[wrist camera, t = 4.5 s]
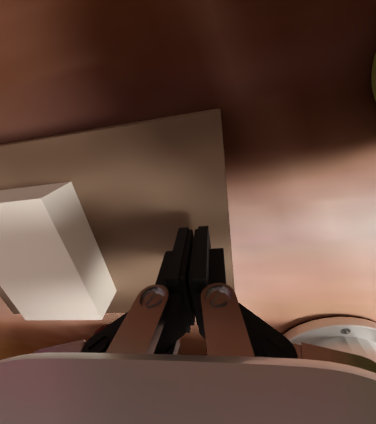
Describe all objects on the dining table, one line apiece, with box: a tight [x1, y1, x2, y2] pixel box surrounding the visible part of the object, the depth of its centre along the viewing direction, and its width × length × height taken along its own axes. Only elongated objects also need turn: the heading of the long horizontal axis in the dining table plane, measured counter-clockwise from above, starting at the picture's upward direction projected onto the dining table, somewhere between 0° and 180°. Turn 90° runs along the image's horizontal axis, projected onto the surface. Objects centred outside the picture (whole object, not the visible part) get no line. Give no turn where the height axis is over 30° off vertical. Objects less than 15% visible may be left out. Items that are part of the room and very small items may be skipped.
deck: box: [0, 108, 235, 314], centre depth 16 cm, size 14×20×4 cm
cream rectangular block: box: [0, 182, 117, 320], centre depth 14 cm, size 9×6×2 cm, turn 9°
